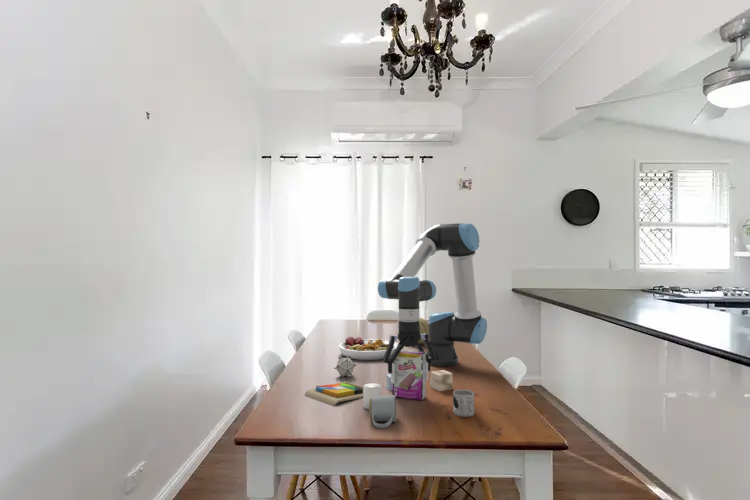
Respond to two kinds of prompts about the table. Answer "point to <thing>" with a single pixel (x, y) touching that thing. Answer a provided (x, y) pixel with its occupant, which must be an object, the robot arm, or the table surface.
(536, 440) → the table surface
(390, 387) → the blue brick
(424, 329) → the cantaloupe
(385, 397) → the ceramic mug
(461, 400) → the mug
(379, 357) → the bowl
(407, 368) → the candy bar box
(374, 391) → the white cylinder
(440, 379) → the oak cube
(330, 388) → the wooden puzzle
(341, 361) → the game die
